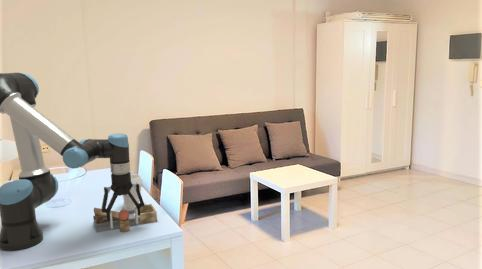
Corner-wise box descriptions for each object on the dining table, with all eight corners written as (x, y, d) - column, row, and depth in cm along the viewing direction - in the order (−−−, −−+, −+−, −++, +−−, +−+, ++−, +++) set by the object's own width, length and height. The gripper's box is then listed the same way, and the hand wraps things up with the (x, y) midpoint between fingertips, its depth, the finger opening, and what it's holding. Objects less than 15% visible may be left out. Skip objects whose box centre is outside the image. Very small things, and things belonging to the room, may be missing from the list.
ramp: (96, 227, 164) (94, 213, 163) (94, 220, 171) (93, 207, 170) (129, 221, 169) (128, 208, 168) (126, 215, 177) (125, 202, 176)
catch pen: (140, 224, 170) (140, 214, 169) (136, 215, 180) (135, 206, 179) (157, 221, 173) (156, 211, 172) (151, 213, 183) (151, 203, 182)
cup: (137, 212, 185) (135, 180, 182) (116, 210, 187) (113, 179, 184) (146, 204, 195) (145, 174, 192) (126, 202, 197) (124, 173, 194)
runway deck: (95, 232, 163) (95, 224, 162) (93, 222, 173) (93, 215, 172) (140, 224, 170) (140, 217, 170) (136, 215, 180) (135, 209, 179)
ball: (119, 222, 161) (118, 212, 160) (117, 219, 165) (117, 209, 164) (130, 221, 163) (129, 210, 162) (128, 217, 167) (128, 207, 166)
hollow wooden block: (121, 232, 162) (120, 221, 162) (119, 229, 165) (119, 218, 165) (129, 230, 164) (128, 220, 163) (128, 227, 167) (127, 217, 166)
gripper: (92, 178, 153) (96, 233, 156) (150, 171, 161) (153, 223, 165) (90, 173, 159) (95, 226, 163) (146, 167, 168) (149, 217, 172)
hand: (124, 225), depth 164 cm, fingers open, 9 cm apart
